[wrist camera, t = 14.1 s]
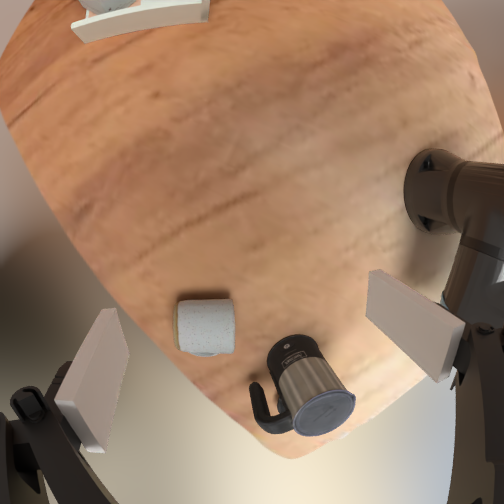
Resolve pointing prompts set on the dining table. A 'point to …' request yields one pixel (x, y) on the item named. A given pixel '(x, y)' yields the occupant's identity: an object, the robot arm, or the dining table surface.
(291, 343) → the milk frother
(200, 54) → the dining table surface
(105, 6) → the supplement box
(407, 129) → the dining table surface
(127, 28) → the tray
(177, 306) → the ceramic mug
